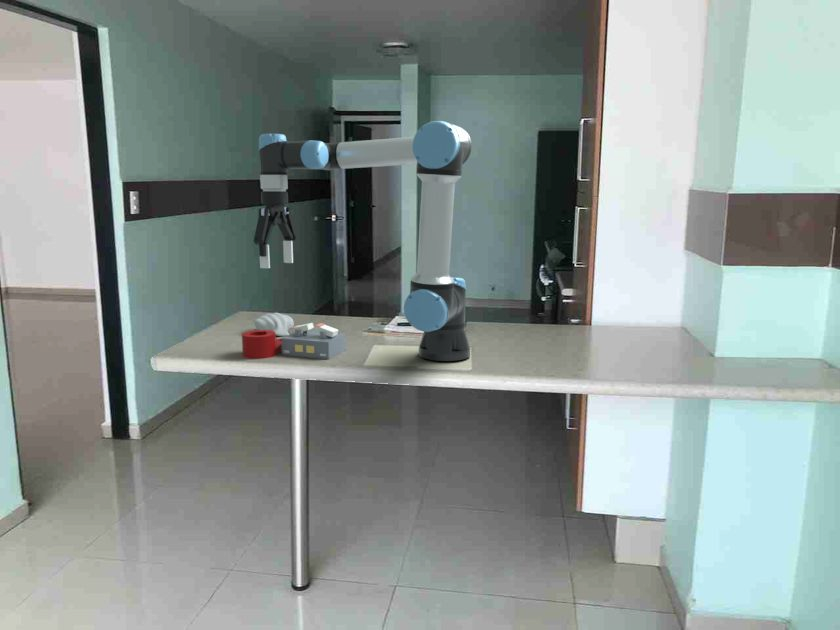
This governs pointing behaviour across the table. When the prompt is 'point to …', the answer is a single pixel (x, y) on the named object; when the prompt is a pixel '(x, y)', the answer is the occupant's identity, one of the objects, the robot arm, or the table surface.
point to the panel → (313, 344)
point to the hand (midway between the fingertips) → (277, 265)
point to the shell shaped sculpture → (275, 323)
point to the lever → (260, 344)
